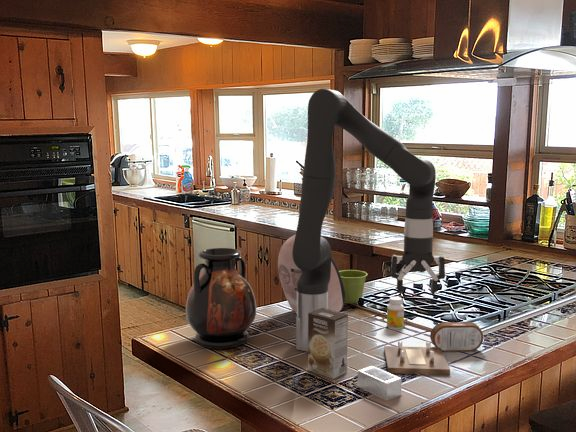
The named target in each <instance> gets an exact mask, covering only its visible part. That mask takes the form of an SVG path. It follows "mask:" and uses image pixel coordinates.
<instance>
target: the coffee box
mask: <svg viewBox="0 0 576 432" xmlns="http://www.w3.org/2000/svg"><path fill="white" fill-rule="evenodd" d="M348 320H349V315H348V314H347V313H345V312H344V313H343V312H340V311H339V312H336V311H333V310H329V309H325V308H320V309H318V310H315V311H313V312H310V313H308V352H307V370H308V371H309V372H313V373H315V374H318V375H322V376H324V377H327V378H329V379H333V380H335V379H336V378H338V377H341V376H342V375H344V374H347V373H348V340H349V339H348V338H349V337H348V335H349V333H348V329H349V323H348V322H349V321H348Z"/></svg>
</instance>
